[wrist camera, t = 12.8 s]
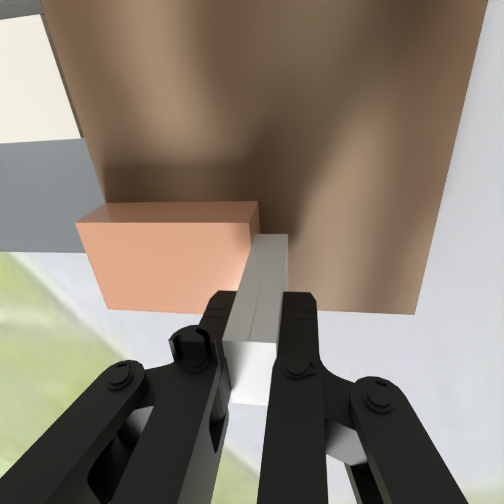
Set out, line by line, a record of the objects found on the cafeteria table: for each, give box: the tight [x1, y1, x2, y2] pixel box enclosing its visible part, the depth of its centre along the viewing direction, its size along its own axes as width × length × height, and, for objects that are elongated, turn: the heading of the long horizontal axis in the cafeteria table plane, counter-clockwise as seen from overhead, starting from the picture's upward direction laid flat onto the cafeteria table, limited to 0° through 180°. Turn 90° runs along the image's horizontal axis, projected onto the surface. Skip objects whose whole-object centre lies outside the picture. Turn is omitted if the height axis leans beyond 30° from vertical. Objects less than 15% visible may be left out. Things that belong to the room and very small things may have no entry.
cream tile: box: [0, 14, 84, 143], centre depth 16 cm, size 8×5×2 cm, turn 95°
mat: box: [0, 138, 105, 253], centre depth 20 cm, size 14×12×1 cm
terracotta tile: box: [75, 201, 260, 314], centre depth 16 cm, size 8×5×2 cm, turn 94°
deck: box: [40, 0, 488, 315], centre depth 16 cm, size 16×16×4 cm
